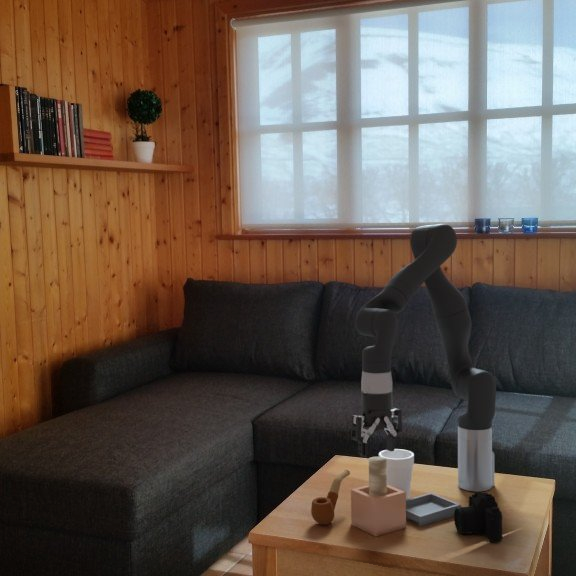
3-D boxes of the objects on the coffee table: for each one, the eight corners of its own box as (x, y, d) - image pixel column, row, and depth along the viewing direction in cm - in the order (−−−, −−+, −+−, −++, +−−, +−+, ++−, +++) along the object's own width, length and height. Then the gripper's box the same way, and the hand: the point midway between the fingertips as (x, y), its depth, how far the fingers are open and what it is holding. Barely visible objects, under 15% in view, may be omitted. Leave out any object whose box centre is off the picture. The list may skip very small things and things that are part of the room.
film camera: (447, 520, 200) (447, 486, 199) (484, 518, 201) (484, 483, 200) (467, 545, 185) (467, 508, 184) (507, 542, 186) (507, 505, 185)
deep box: (381, 515, 204) (380, 481, 203) (406, 527, 196) (405, 492, 195) (351, 524, 199) (350, 489, 198) (375, 536, 191) (375, 500, 190)
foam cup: (413, 508, 208) (412, 460, 207) (378, 506, 210) (377, 458, 209) (414, 495, 218) (414, 449, 217) (381, 494, 220) (380, 448, 218)
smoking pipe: (332, 531, 196) (310, 529, 198) (353, 488, 212) (332, 486, 214) (328, 507, 194) (306, 505, 196) (349, 465, 210) (328, 464, 212)
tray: (431, 501, 213) (431, 492, 213) (461, 513, 204) (461, 504, 204) (391, 513, 205) (391, 503, 205) (420, 526, 196) (420, 516, 196)
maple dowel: (379, 517, 200) (378, 455, 199) (391, 522, 197) (390, 459, 195) (365, 521, 198) (364, 458, 196) (377, 526, 194) (376, 463, 193)
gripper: (389, 382, 201) (389, 445, 203) (344, 390, 194) (344, 455, 195) (409, 387, 195) (409, 452, 196) (363, 395, 187) (363, 462, 189)
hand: (377, 453), depth 196 cm, fingers open, 8 cm apart
